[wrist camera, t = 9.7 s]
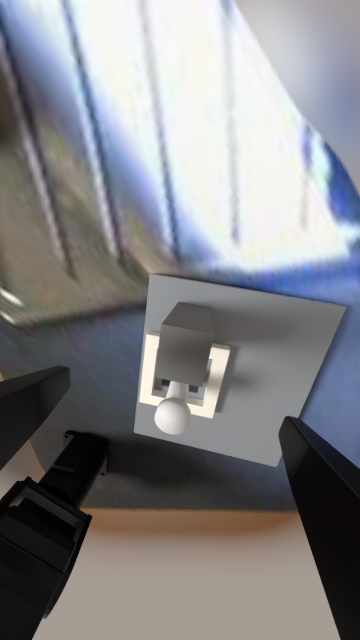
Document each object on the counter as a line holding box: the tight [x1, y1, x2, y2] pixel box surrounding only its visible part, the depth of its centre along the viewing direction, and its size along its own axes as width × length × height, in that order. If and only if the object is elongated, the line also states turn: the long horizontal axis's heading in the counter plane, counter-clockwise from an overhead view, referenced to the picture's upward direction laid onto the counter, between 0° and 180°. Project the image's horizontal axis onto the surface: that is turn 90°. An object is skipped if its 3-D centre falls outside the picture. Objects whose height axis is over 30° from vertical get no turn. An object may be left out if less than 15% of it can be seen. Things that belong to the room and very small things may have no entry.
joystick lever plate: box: [139, 302, 230, 418], centre depth 15 cm, size 11×8×7 cm
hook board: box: [134, 273, 346, 467], centre depth 16 cm, size 19×17×8 cm
